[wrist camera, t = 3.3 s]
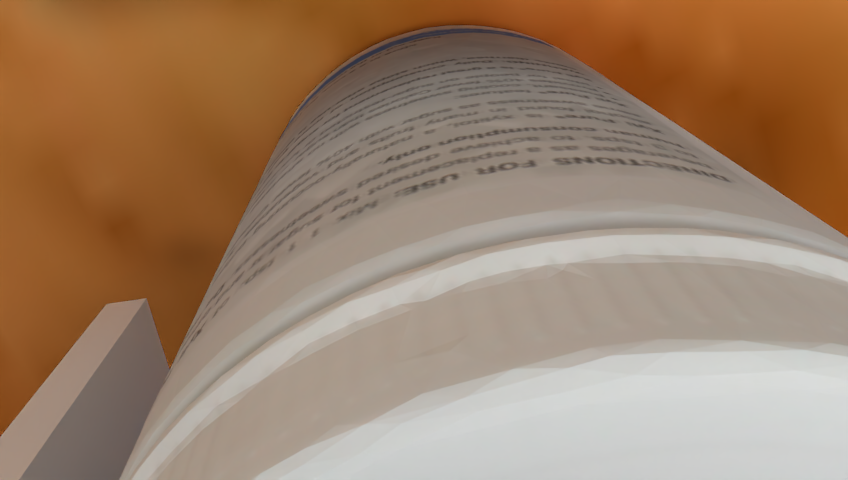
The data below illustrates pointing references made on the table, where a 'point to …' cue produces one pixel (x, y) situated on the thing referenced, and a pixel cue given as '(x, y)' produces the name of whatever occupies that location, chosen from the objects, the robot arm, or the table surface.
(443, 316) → the supplement tub
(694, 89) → the table surface
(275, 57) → the table surface
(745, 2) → the table surface
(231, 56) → the table surface
